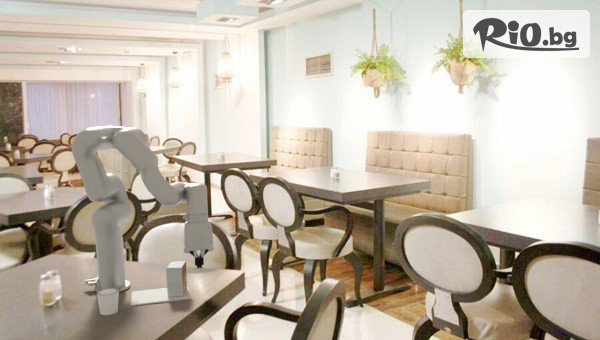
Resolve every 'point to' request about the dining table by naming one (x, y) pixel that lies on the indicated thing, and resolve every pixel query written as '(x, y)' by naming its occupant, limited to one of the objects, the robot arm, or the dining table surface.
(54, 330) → the dining table surface
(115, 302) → the shot glass
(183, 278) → the small box
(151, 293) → the mat
